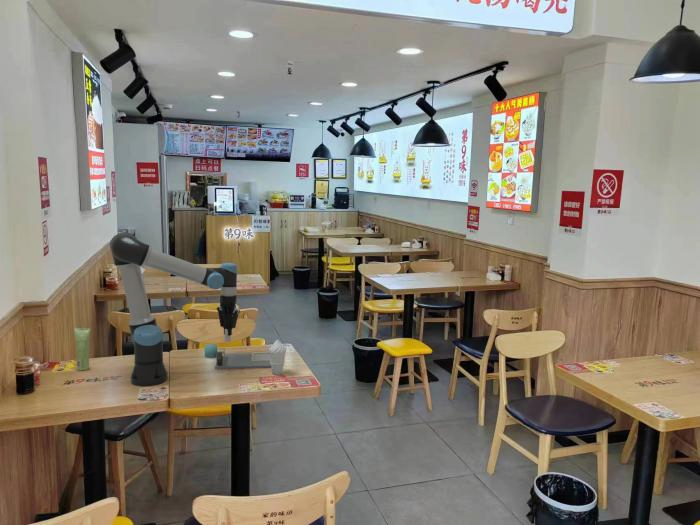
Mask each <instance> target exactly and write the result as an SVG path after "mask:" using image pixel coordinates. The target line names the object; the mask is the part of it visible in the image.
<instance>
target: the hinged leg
mask: <svg viewBox="0 0 700 525" xmlns="http://www.w3.org/2000/svg"><path fill="white" fill-rule="evenodd" d="M225 354H226V349H225V348H224V347H223V348H222V347H221V348H219V347H218V353H217V357H215V358H216V362H217V365H223V362H224V358H225Z"/></svg>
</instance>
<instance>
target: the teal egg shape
mask: <svg viewBox="0 0 700 525" xmlns="http://www.w3.org/2000/svg"><path fill="white" fill-rule="evenodd" d="M218 349H219V347H218V344H216V343H208V344H204V358H206V359H214V358H216V357H217V353H218Z"/></svg>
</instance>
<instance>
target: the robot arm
mask: <svg viewBox="0 0 700 525" xmlns="http://www.w3.org/2000/svg"><path fill="white" fill-rule="evenodd" d="M109 249H110V251H111V255H112V259H113V262H114V266H115V267H117V268H118V269H119V272H120V277H121V282H122V286H123V289H124V293H125V294H124V295H125V298H126V302H127V306H128V311H129V316H130V320H129V322H128V327H129V332H130V338H131V341H132V344H133V350H134V354H133V355H134V366H133V368H132V372H131V374H130V383H131V385H135V386H138V387H139V386H141V387H149V386H155V385H159V384H163V383H164V382H166V381H167V380H168V371H167V368H166V365H165V364H164V353H163V352H164V350H163V349H164V348H163V347H164V346H163V345H164V344H163V343H164V342H163V341H164V340H163V338H164V333H163V330H162V328H161V327H160V326H158V324H157V320H156V316H154V315H153V314H152V313H151V309H150V305H149V300H148V295H147V291H146V286H145V282H144V277H143V274H142V269H141V267H143V266H147V267H150V268H152V269H155V270H158V271H161V272H165V273H166V274H170V275H173V276H176V277H180V278H182V279H185V280H188V281H191V282H194V283H196V284H200V285H202V286H205V287H208V288H209V289H211V290H219V289H220V306H217V307H216V310H217V313H218V318H219V325H220V327H221V328H223V335H224V343H229V342H231V341H232V339H231V337H232V335H233V329H235V328H237V327H236V326H237V322H238V318H239V314H240V312H241V309H238V308H237V305H236V303H237V283H238V282H237V281H238V279H237V278H238V266H237V264H236V263H233V262H223V263H221V264H220V265H221V266H220V267H203V266H200V265H198V264H196V263H195V264H194V263H192V262H189V261H187V260H184V259H182V258H178V257H176V256H173V255H170V254H168V253H164V252H163V251H159V250H156V249H153V248H152V247H151V245H149V244H147V243H144V242H142V241H141V240H139V239H138V238H137V237H136V236H135V235H134V234H132V233H129V232H125V231H124V232H119V233H117V234H115V235H114V236H113V237H112V238H111V239H110V243H109Z"/></svg>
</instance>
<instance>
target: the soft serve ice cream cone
mask: <svg viewBox="0 0 700 525" xmlns="http://www.w3.org/2000/svg"><path fill="white" fill-rule="evenodd" d="M282 343H283V342H281V341H280V340H279V339H276V340H275V341H274V342H273V344H272V345H271V346H270V347H269V349H268V351H267V352H269V354H270V355H269V356H270V363H271V368H270V369H271V372H272V375H275V376H279V375H282V373H283V369H284V365H285V357H286V353H287V348H286V346H285V345H283V344H282Z"/></svg>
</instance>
